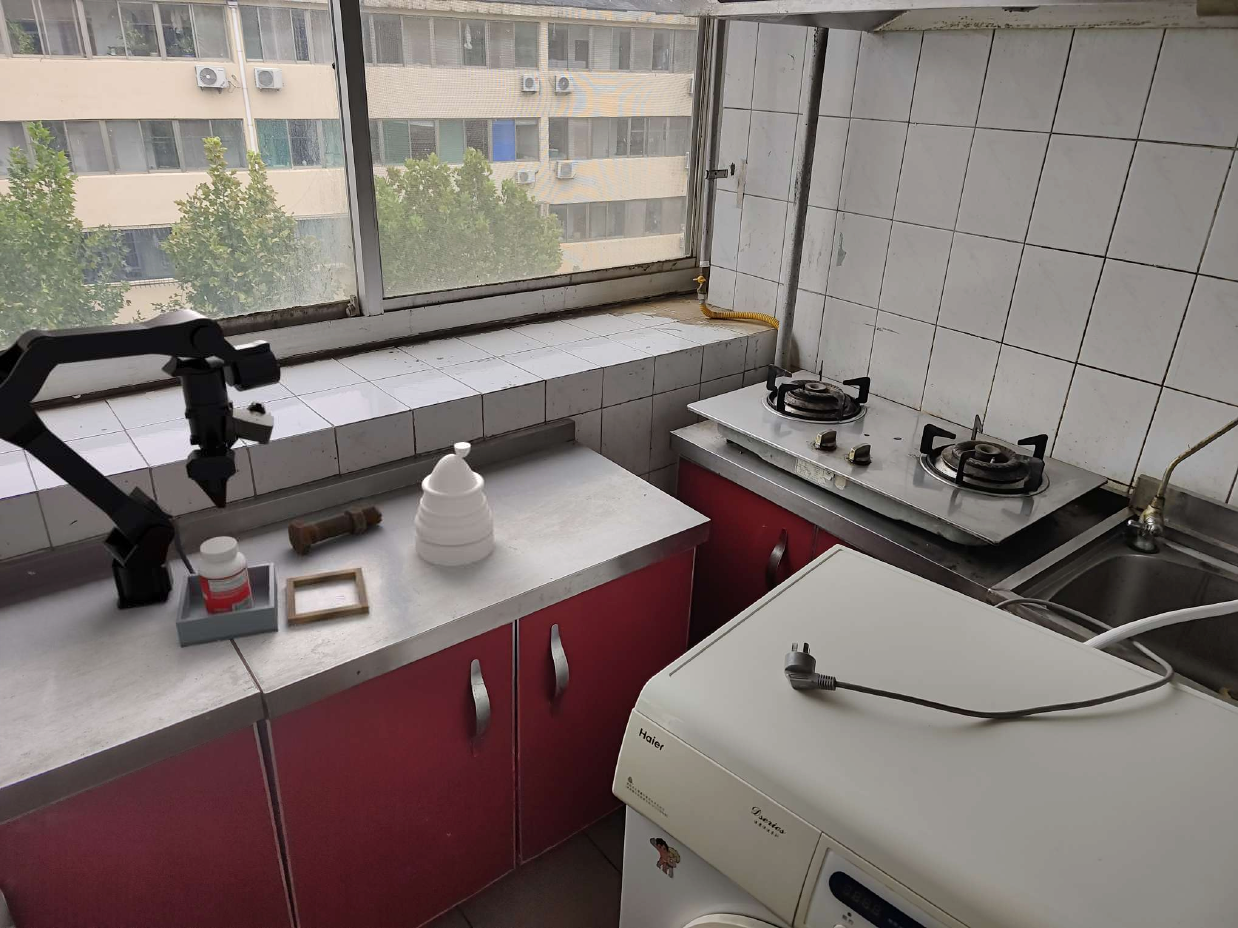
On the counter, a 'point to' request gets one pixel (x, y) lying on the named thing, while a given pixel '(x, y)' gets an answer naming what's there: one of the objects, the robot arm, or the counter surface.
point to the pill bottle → (224, 576)
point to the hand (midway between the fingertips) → (223, 494)
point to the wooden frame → (327, 613)
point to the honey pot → (454, 514)
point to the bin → (228, 625)
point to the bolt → (332, 527)
